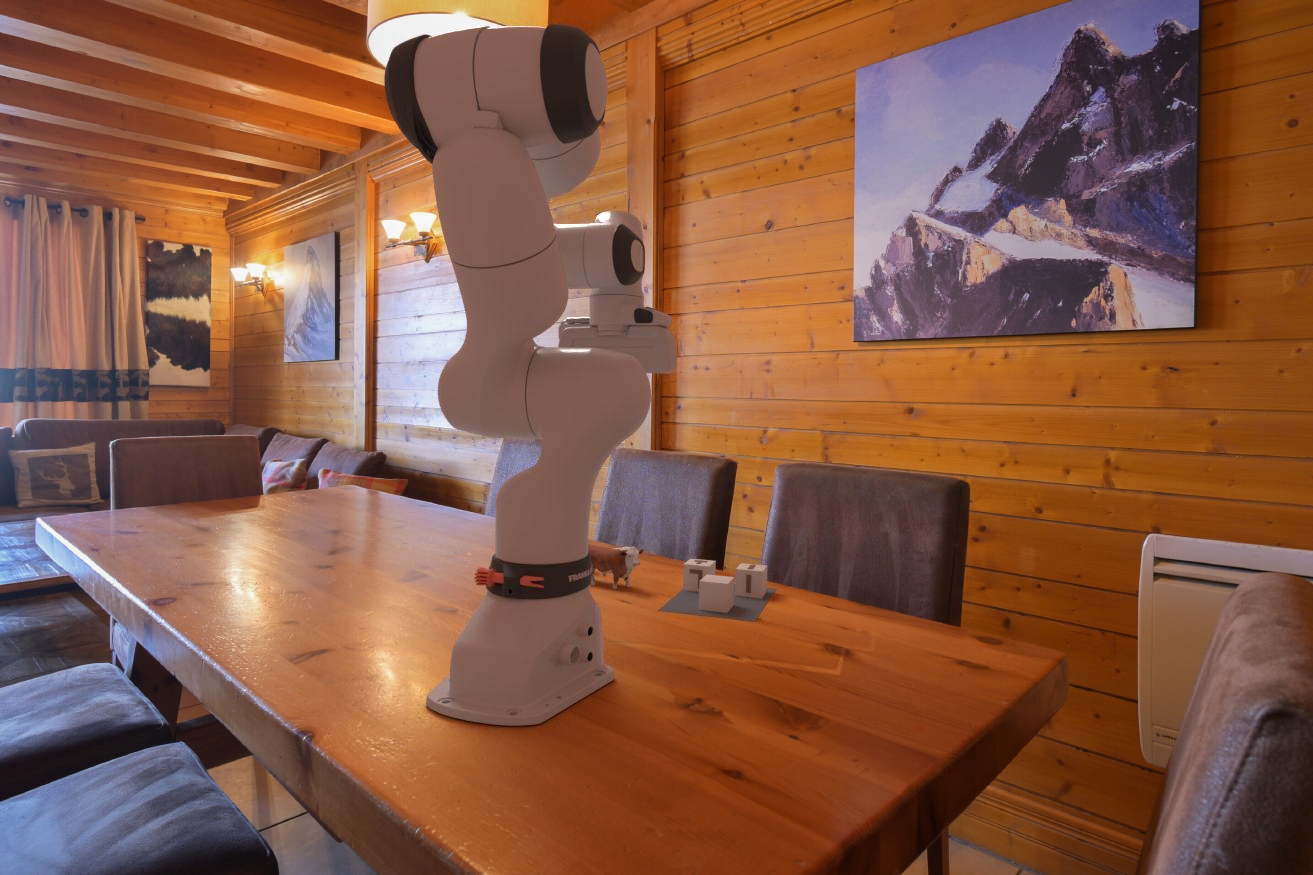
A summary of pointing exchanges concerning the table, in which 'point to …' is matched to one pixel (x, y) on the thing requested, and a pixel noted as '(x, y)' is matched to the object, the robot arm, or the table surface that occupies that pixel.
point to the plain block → (716, 593)
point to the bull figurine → (614, 562)
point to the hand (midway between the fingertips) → (615, 401)
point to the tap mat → (740, 611)
